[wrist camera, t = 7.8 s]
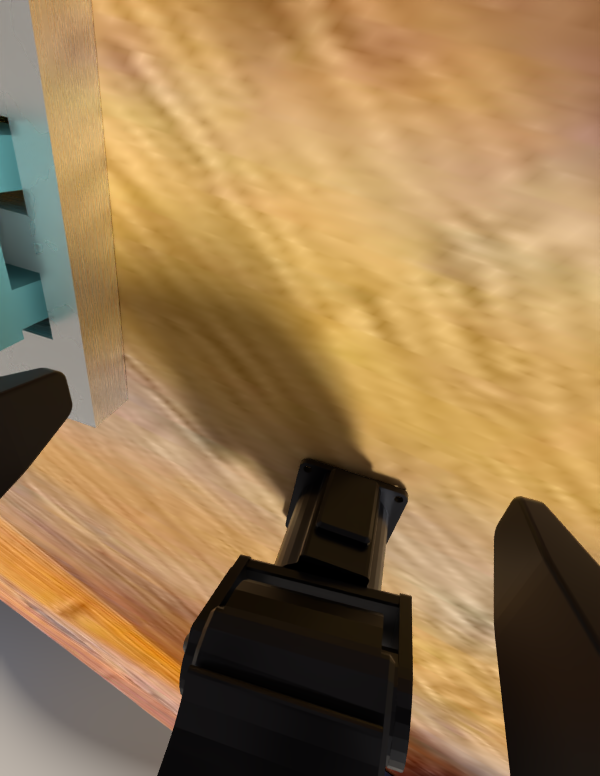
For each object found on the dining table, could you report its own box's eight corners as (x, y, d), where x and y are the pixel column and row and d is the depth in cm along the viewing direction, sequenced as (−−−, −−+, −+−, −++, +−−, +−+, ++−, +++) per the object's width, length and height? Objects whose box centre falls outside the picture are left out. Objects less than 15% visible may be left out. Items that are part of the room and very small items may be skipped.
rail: (127, 399, 25) (95, 427, 23) (20, 364, 27) (-22, 387, 24) (87, -46, 14) (15, -84, 12) (-99, -79, 15) (-201, -120, 13)
